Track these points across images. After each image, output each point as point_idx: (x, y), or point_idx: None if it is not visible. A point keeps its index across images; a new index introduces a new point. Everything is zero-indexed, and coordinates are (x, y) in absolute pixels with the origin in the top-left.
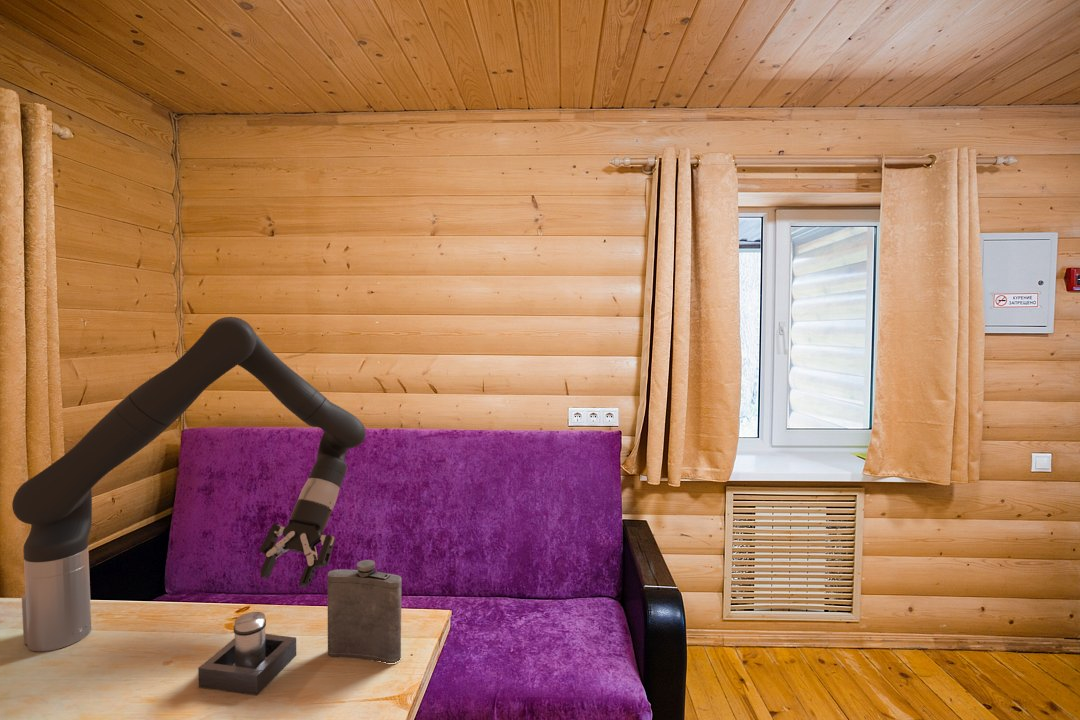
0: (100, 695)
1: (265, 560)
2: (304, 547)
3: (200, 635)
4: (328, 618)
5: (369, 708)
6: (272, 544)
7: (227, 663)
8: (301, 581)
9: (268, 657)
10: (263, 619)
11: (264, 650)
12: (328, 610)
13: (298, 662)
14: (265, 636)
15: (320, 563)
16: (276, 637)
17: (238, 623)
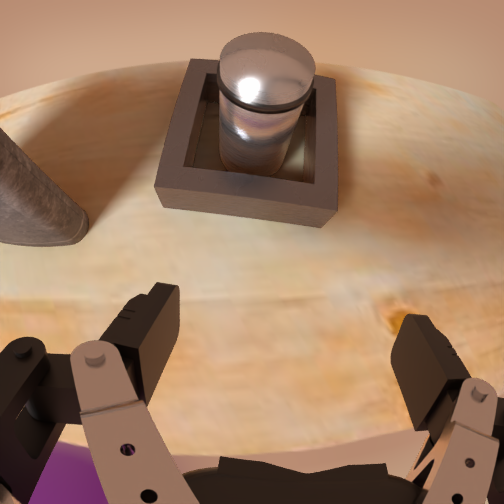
0: (447, 109)
1: (466, 374)
2: (156, 464)
3: (446, 276)
4: (36, 165)
5: (10, 98)
6: (499, 484)
7: (308, 143)
8: (161, 290)
9: (193, 104)
10: (220, 59)
11: (219, 128)
12: (23, 152)
13: (147, 182)
14: (252, 185)
15: (24, 340)
16: (214, 182)
17: (289, 44)
